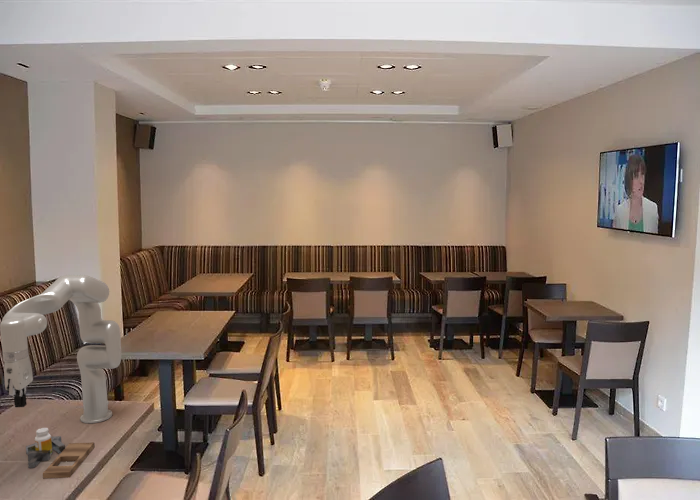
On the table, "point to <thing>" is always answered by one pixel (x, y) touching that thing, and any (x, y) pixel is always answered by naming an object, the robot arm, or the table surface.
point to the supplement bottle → (43, 440)
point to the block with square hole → (70, 453)
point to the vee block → (56, 445)
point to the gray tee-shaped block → (37, 457)
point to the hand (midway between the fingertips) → (20, 406)
